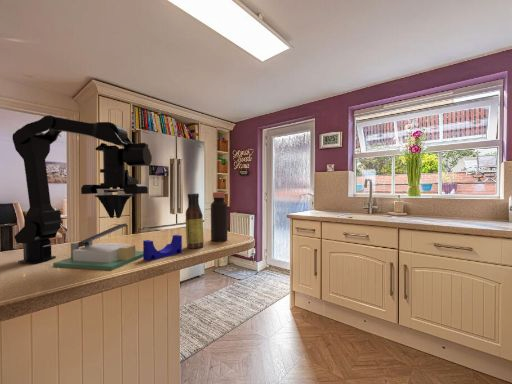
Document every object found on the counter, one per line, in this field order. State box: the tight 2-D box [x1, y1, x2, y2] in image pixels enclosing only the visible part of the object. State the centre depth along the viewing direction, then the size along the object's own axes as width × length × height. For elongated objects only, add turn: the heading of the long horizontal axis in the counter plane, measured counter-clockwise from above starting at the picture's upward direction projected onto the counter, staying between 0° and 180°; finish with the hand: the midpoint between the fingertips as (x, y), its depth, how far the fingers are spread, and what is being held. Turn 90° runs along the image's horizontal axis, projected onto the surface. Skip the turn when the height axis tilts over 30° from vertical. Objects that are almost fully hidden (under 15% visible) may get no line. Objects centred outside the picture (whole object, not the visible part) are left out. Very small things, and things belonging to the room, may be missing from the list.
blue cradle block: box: [142, 234, 183, 262], centre depth 82 cm, size 12×4×6 cm, turn 143°
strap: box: [77, 223, 128, 248], centre depth 78 cm, size 17×3×1 cm, turn 79°
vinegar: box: [210, 191, 228, 242], centre depth 106 cm, size 7×7×20 cm
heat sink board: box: [52, 241, 143, 271], centre depth 77 cm, size 19×16×6 cm
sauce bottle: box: [185, 192, 205, 249], centre depth 94 cm, size 6×6×20 cm
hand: (115, 217), depth 77 cm, fingers closed
